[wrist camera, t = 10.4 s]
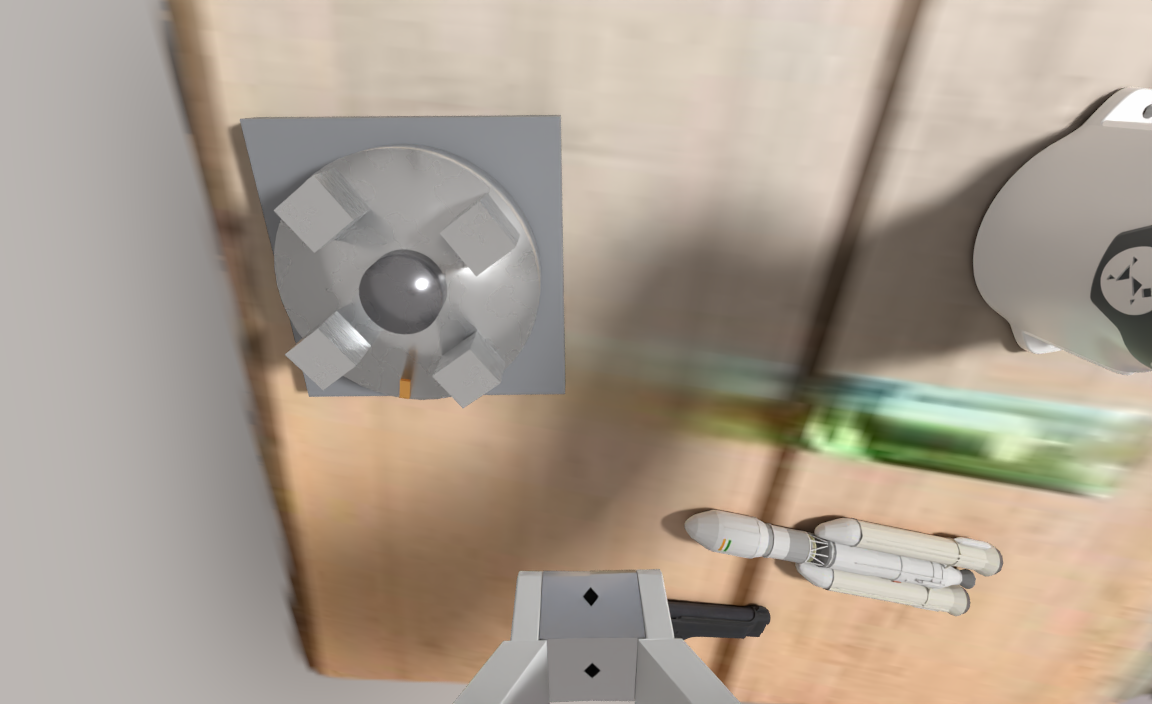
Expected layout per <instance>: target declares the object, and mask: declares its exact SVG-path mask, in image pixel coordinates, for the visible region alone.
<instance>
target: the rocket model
mask: <svg viewBox="0 0 1152 704" xmlns="http://www.w3.org/2000/svg"><path fill="white" fill-rule="evenodd" d="M684 526H685V529H686V531H687V533H688V534H689V535H690V537H691V538H692V539H694V540H695V541H697V542H698V543H699V544H701V545H702V546H704V547H705V548H706V549H708V550H711V551H713V552H718V553H723V554H728V555H734V556H739V557H744V558H753V557H760V556H762V557H764V558H768V557H769V558H775V559H780V560H785V561H791V562H796V563H795V565H796V569H797V571H798V572H799V573H800V574H801V575H802V576H803V577H804V578H806V579H807V580H808V581H809V582H810V583H812V584H813V585H815V586H818V587H822V588H823V589H826V590H829V591H835V592H840V593H845V594H851V595H856V596H862V597H867V598H873V599H878V600H884V601H889V602H894V603H900V604H905V605H911V606H913V607H917V608H922V609H927V610H933V611H943V612H948V613H949V614H951V615H954V616H959V615H961V614H964V613H966V612H967V611H968V609H969V607H970V598H969V595H968V593H967V592H966V590H965V589H964V588H966V589H970V588H972V587H973V586H974V585H975V580H976V578H975V576H974V574H973V573H972V572H971V571H970V570H968V569H972V570H974V571H976V572H977V573H979V574H981V575H983V576H991V575H994V574H996V573H998V572H999V571H1001V568H1002V565H1003V558H1002V555H1001V553H1000V551H999V550H997V549H996V548H995V547H994V546H993V545H991V544H990V543H988V542H983V541H979V540H974V539H969V538H963V537H957V538H955V539H952V538H944V537H939V536H934V535H929V534H924V533H919V532H914V531H909V530H904V529H899V528H895V527H890V526H885V525H880V524H875V523H870V522H865V521H860V520H857V519H854V518H851V519H850V518H839V519H835V520H832V521H828V522H825V523H822V524H819V525H818V526H817V527H816V528H815V536H814V535H813V533H808V532H805V531H801V530H800V531H799V530H794V529H789V528H784V527H779V526H774V525H771V524H769V523H763V522H762V521H760V520H758V519H757V518H756V517H753V516H746V515H741V514H736V513H730V512H725V511H720V510H710V511H706V512H702V513H698V514H694V515H693V516H691V517H690V518H688V519H687V520H686V522H685V524H684ZM807 533H808V534H807ZM810 534H812V535H810ZM812 536H813V537H812ZM951 566H957V567H962V568H967V569H963V570H958V569H954V568H953V567H951ZM960 585H961V586H962V587H964V588H962V587H961V586H960Z"/></svg>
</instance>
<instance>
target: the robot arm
mask: <svg viewBox="0 0 1152 704" xmlns="http://www.w3.org/2000/svg"><path fill="white" fill-rule="evenodd" d="M1145 108H1146V111H1145V113H1144V114H1143V115H1142V113H1143V111H1144V109H1145ZM973 270H974V276H975V281H976V284H977V287H978V289H979V292H980V293H981V295H982V297H983V298H984V300H985V301H986V302H987V304H988V305H989V306H990V307H991V308H992V309H993V310H995V311H996V312H997V313H998V314H1000V315H1001V316H1002V317H1004V318H1005V319H1006V320H1007V321H1008V322H1009V323H1010V325H1011V328H1012V331H1013V334H1014V337H1015V339H1016V342H1017V343H1018V345H1019V346H1020V347H1021V348H1022V349H1024V350H1026V351H1029V352H1031V353H1034V354H1043V353H1049V352H1055V351H1060V350H1064V351H1066V352H1068V353H1070V354H1073V355H1075V356H1077V357H1080V358H1082V359H1084V360H1087V361H1089V362H1091V363H1094V364H1096V365H1098V366H1101V367H1103V368H1105V369H1108V370H1110V371H1112V372H1115V373H1118V374H1122V375H1131V374H1133V373H1139V372H1149V371H1152V89H1148V88H1140V87H1126V88H1123V89H1121V90H1119V91H1118V92H1116V93H1115V94H1113V95H1112V96H1111V97H1110V98H1109V99H1108V100H1106V101H1105V102H1104V103H1103V104H1102V105H1101V106H1100V107H1099V108H1098V109H1097V110H1096V111H1095V112H1094V113H1093V115H1092V116H1091V117H1090V118H1089V119H1088V120H1087V121H1086V122H1085V123H1084V124H1083V125H1082V126H1081V127H1079V128H1078V129H1077V130H1075V131H1074V132H1072V133H1070V134H1069V135H1067V136H1065V137H1064V138H1062V139H1060V140H1058V141H1057V142H1055V143H1053V144H1052V145H1050V146H1048V147H1047V148H1045V149H1044V150H1042V151H1041V152H1039V153H1038V154H1037V155H1035V156H1034V157H1033V158H1031V159H1030V160H1029V161H1028V162H1027V163H1025V164H1024V165H1023V166H1022V167H1021V168H1020V169H1019V170H1018V171H1017V172H1016V173H1015V174H1014V175H1013V176H1012V177H1011V178H1010V179H1009V180H1008V182H1007V183H1006V184H1005V185H1004V186H1003V188H1002V189H1001V190H1000V192H999V193H998V194H997V196H996V197H995V199H994V200H993V202H992V203H991V205H990V207H989V209H988V210H987V212H986V214H985V216H984V218H983V221H982V223H981V226H980V228H979V231H978V234H977V238H976V242H975V247H974V254H973ZM590 700H593V701H595V700H596V701H635V704H741V703H740V702H739V701H738V700H737V698H736V697H735V696H734V695H733V694H732V693H731V692H730V691H729V690H728V689H727V688H726V686H725V685H724V684H723V683H722V682H721V681H720V680H719V679H718V678H717V677H716V675H715V674H714V673H713V672H712V671H711V670H710V669H709V668H708V667H707V666H706V664H705V663H704V662H703V661H702V660H701V659H700V658H699V657H698V656H697V655H696V653H695V652H694V651H693V650H692V649H691V648H690V647H689V646H688V645H687V644H686V643H685V641H684V640H683V639H680V638H674V633H673V627H672V622H671V617H670V612H669V607H668V601H667V596H666V591H665V586H664V581H663V575H662V572H661V571H660V569H651V570H599V571H519V574H518V577H517V584H516V593H515V602H514V612H513V621H512V630H511V639H510V641H503V642H502V643H501V644H500V646H499V647H498V648H497V649H496V650H495V652H494V653H493V654H492V655H491V657H490V658H489V659H488V660H487V662H486V663H485V664H484V665H483V667H482V668H481V669H480V670H479V672H478V673H477V674H476V675H475V676H474V678H473V679H472V680H471V681H470V683H469V684H468V685H467V686H466V688H465V689H464V690H463V691H462V693H461V694H460V695H459V696H458V698H457V699H456V700H455V701H454V702H453V704H550V702H569V701H590Z"/></svg>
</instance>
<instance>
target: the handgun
mask: <svg viewBox="0 0 1152 704" xmlns="http://www.w3.org/2000/svg"><path fill="white" fill-rule="evenodd" d="M668 607H669V612H670V617H671V622H672V627H673V633H674V638H680V639H683V640H685V639H687V638H690V637H720V638H742V639H744V638H745V637H746V636H750V637H759V636H760V634H761V633H763V631H764V629H765V626H766V624H767V625H768V624H769V623H770V613H769V611H768V609H766V608H765V607H761V606H759V607H757V606H746V607H736V606H727V605H714V604H701V603H687V602H675V601H668Z"/></svg>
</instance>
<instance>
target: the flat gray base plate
mask: <svg viewBox="0 0 1152 704" xmlns="http://www.w3.org/2000/svg"><path fill="white" fill-rule="evenodd" d="M240 122H241V126H242V130H243V134H244V138H245V142H246V146H247V150H248V154H249V158H250V162H251V166H252V170H253V174H254V178H255V182H256V186H257V190H258V194H259V198H260V202H261V206H262V210H263V214H264V218H265V222H266V226H267V230H268V234H269V238H270V242H271V246H272V250H273V254H274V248H275V241H276V234H277V231H278V227H279V224H280V220H281V218H280V217H279V216H278V215H277V213H276V212H275V211H274V209H276V208H277V207H278V206H279V205H280V204H281V203H282V202H283V201H285V200H286V199H287V198H288V197H289V196H290V195H291V194H292V193H294V192H295V191H296V190H297V189H298V188H299V187H300V186H301V185H303V184H304V183H305V182H306V180H307V179H308V178H309V177H311V176H312V175H313V174H315V173H316V172H317V171H319V170H320V169H321V168H323V167H324V166H326V165H328V164H330V163H332V162H334V161H335V160H337V159H339V158H342V157H345V156H348V155H351V154H354V153H357V152H360V151H363V150H367V149H370V148H373V147H379V146H384V145H389V144H415V145H425V146H429V147H434V148H438V149H442V150H445V151H448V152H450V153H453V154H456V155H458V156H460V157H462V158H464V159H466V160H468V161H470V162H472V163H474V164H476V165H477V166H478V167H480V168H481V169H483V170H484V171H486V172H487V173H488V174H490V175H491V176H492V177H493V178H494V179H495V180H497V181H498V182H499V183H500V184H501V185H502V186H503V187H504V188H505V189H506V190H507V191H508V193H509V194H510V195H511V196H512V197H513V198H514V200H515V201H516V202H517V204H518V205H519V207H520V208H521V210H522V211H523V213H524V215H525V217H526V219H527V221H528V223H529V225H530V227H531V229H532V231H533V234H534V237H535V240H536V243H537V246H538V251H539V256H540V262H541V290H540V297H539V304H538V309H537V314H536V319H535V322H534V325H533V328H532V331H531V333H530V336H529V338H528V339H527V341H526V343H525V345H524V347H523V349H522V350H521V351H520V353H519V354H518V355H517V357H516V358H515V360H514V361H513V362H512V363H511V364H510V365H509V366H508V367H507V368H506V369H505V370H504V371H503V375H502V379H501V383H500V384H499V385H497V386H496V387H494V388H493V389H491V390H490V391H488V392H487V393H485V394H484V395H521V394H565V341H564V282H563V223H562V165H561V115H520V116H385V117H256V118H245V119H240ZM290 322H291V320H290ZM291 326H292V330H293V334H294V338H295V342H296V344H297V343H298V342H299V341H300V340H301V339H302V337H301V336H300V334H299V333H298V332H297V330H296V328H295V327H294V325H293V323H292V322H291ZM303 374H304V378H305V382H306V386H307V390H308V394H309V397H320V396H389V395H386V394H383V393H379V392H376V391H373V390H371V389H368V388H366V387H364V386H361V385H359V384H357V383H355V382H353V381H352V380H350V379H348V378H346V377H344V376H342V377H340V378H339V379H338V380H336V381H335V382H334V383H332V384H331V385H330V386H328V387H327V388H326V389H324V390H322V389H321V388H320V387H319V386H318V385H317V384H316V383H315V382H314V381H313V380H311V379H310V378H309V377H308V376H307V375H306V374H305V373H304V372H303Z"/></svg>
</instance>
